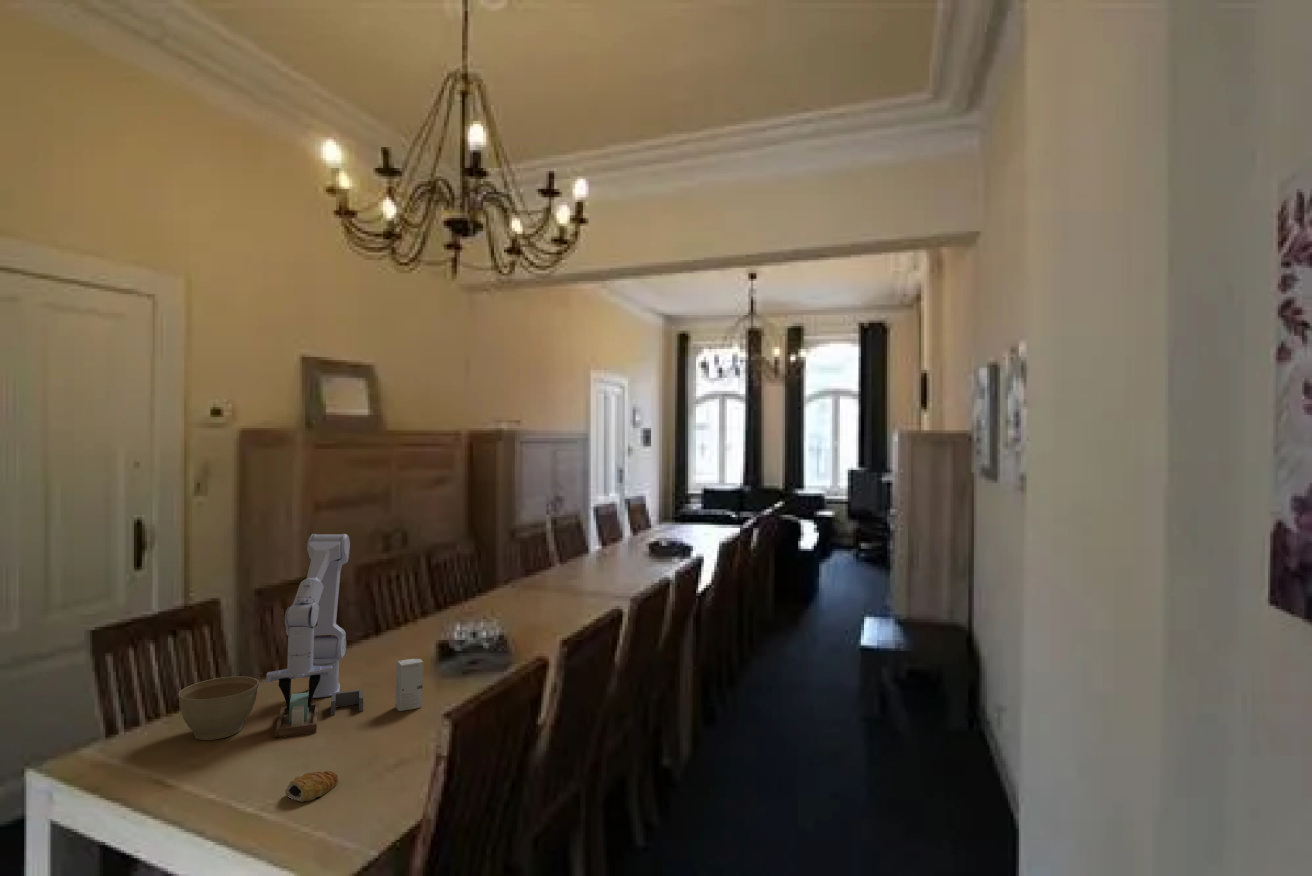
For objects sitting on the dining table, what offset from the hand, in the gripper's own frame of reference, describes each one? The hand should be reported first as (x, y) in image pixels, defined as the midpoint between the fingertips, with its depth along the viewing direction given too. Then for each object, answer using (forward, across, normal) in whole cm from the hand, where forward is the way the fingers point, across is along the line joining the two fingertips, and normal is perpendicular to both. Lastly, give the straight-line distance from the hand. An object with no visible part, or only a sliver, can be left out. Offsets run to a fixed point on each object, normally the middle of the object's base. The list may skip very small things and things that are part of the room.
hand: (299, 706), depth 170 cm
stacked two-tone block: (+3, 0, -1) cm, 3 cm away
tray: (+3, 0, -2) cm, 4 cm away
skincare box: (+4, +26, 0) cm, 26 cm away
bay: (+3, +11, +4) cm, 12 cm away
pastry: (+4, +5, -40) cm, 40 cm away
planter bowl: (+4, -17, -1) cm, 17 cm away
